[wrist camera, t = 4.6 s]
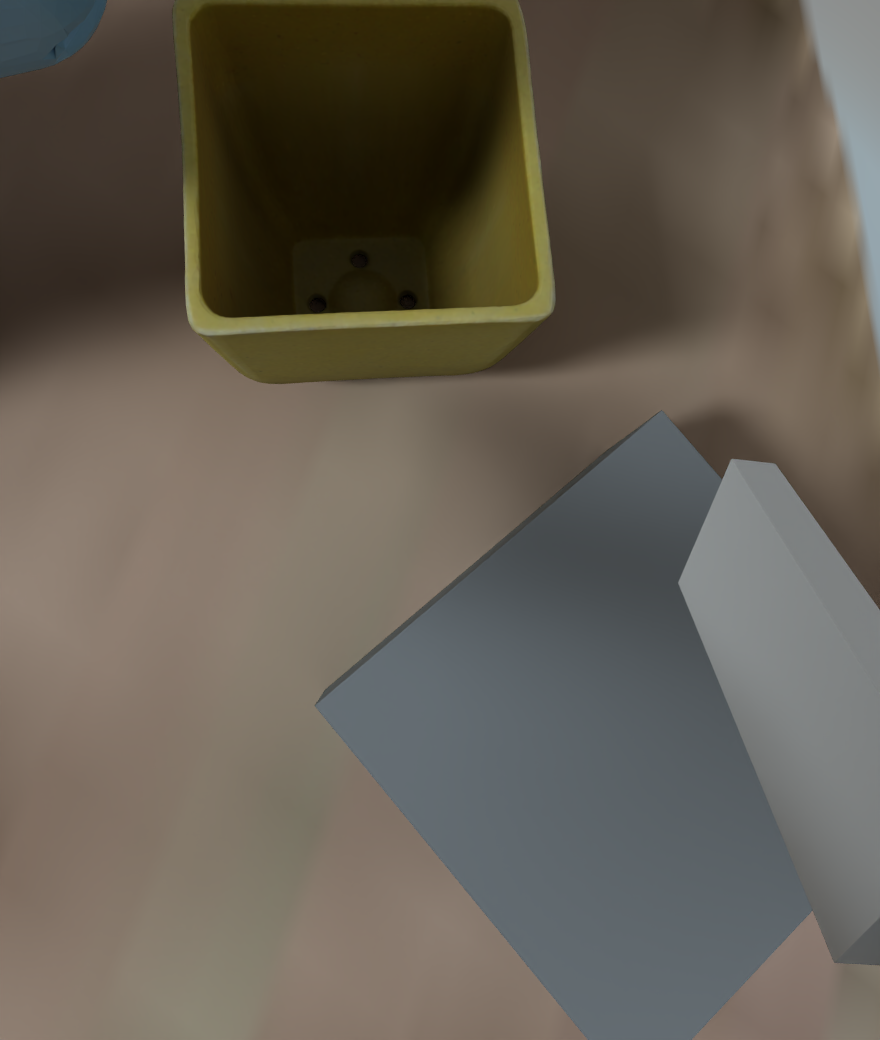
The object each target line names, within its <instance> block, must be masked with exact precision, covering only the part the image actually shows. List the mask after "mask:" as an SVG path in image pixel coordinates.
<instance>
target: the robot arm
mask: <svg viewBox="0 0 880 1040" xmlns="http://www.w3.org/2000/svg"><path fill="white" fill-rule="evenodd" d="M106 3H107V0H0V78H3V77H7V76H12V75H16V74H21V73H25V72H30V71H34V70H39V69H43V68H46V67H49V66H52V65H55V64H57V63H59V62H61V61H63V60H65V59H67V58H69V57H71V56H72V55H73V54H75V53H76V52H77V51H78V50H80V49H81V48H82V47H83V46H84V45H85V44H86V43H87V42H88V41H89V39H90V38H91V36H92V35H93V33H94V32H95V30H96V29H97V27H98V24H99V22H100V20H101V17H102V15H103V13H104V10H105V7H106ZM678 584H679V586H680V589H681V591H682V594H683V596H684V598H685V601H686V603H687V606H688V608H689V611H690V613H691V616H692V618H693V620H694V623H695V625H696V628H697V630H698V633H699V635H700V637H701V640H702V642H703V645H704V647H705V650H706V652H707V654H708V657H709V659H710V662H711V664H712V667H713V669H714V671H715V674H716V676H717V679H718V681H719V684H720V686H721V689H722V691H723V693H724V696H725V698H726V701H727V703H728V706H729V708H730V710H731V713H732V715H733V718H734V720H735V723H736V725H737V727H738V730H739V732H740V735H741V737H742V740H743V742H744V745H745V747H746V749H747V752H748V754H749V757H750V759H751V762H752V764H753V766H754V769H755V771H756V774H757V776H758V779H759V781H760V783H761V786H762V788H763V791H764V793H765V796H766V798H767V800H768V803H769V805H770V808H771V810H772V813H773V815H774V818H775V820H776V822H777V825H778V827H779V830H780V832H781V835H782V837H783V839H784V842H785V844H786V847H787V849H788V852H789V854H790V856H791V859H792V861H793V864H794V866H795V869H796V871H797V873H798V876H799V878H800V881H801V883H802V886H803V888H804V891H805V893H806V895H807V898H808V900H809V903H810V905H811V908H812V910H813V912H814V915H815V917H816V920H817V922H818V925H819V927H820V929H821V932H822V934H823V937H824V939H825V942H826V944H827V947H828V949H829V951H830V954H831V956H832V959H833V961H834V963H847V964H867V965H880V610H879V608H878V607H877V605H876V604H875V603H874V601H873V600H872V598H871V597H870V596H869V594H868V593H867V591H866V590H865V589H864V587H863V586H862V584H861V583H860V582H859V580H858V579H857V577H856V576H855V575H854V573H853V572H852V570H851V569H850V568H849V566H848V565H847V563H846V562H845V561H844V559H843V558H842V556H841V555H840V554H839V552H838V551H837V549H836V548H835V547H834V545H833V544H832V542H831V541H830V540H829V538H828V537H827V535H826V534H825V533H824V531H823V530H822V528H821V527H820V526H819V524H818V523H817V521H816V520H815V519H814V517H813V516H812V514H811V513H810V512H809V510H808V509H807V507H806V506H805V505H804V503H803V502H802V500H801V499H800V498H799V496H798V495H797V493H796V492H795V491H794V489H793V488H792V486H791V485H790V484H789V482H788V481H787V479H786V478H785V477H784V475H783V474H782V472H781V471H780V470H779V468H778V467H777V465H776V464H775V463H766V462H757V461H748V460H739V459H731V461H730V463H729V465H728V468H727V470H726V472H725V475H724V477H723V479H722V482H721V484H720V486H719V489H718V491H717V493H716V496H715V498H714V500H713V503H712V505H711V507H710V510H709V512H708V514H707V517H706V519H705V521H704V524H703V526H702V528H701V531H700V533H699V535H698V538H697V540H696V542H695V545H694V547H693V549H692V552H691V554H690V556H689V559H688V561H687V563H686V566H685V568H684V570H683V573H682V575H681V577H680V580H679V582H678Z"/></svg>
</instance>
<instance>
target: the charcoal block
mask: <svg viewBox="0 0 880 1040" xmlns="http://www.w3.org/2000/svg"><path fill="white" fill-rule="evenodd" d="M721 482H722V479H721V478H720V477H719V475H718V474H717V473H716V472H715V471H714V470H713V469H712V467H711V466H710V465H709V464H708V463H707V462H706V461H705V459H704V458H703V457H702V456H701V455H700V454H699V452H698V451H697V450H696V449H695V448H694V447H693V446H692V444H691V443H690V442H689V441H688V440H687V439H686V437H685V436H684V435H683V434H682V433H681V432H680V431H679V429H678V428H677V427H676V426H675V425H674V424H673V422H672V421H671V420H670V419H669V418H668V417H667V416H666V414H665V413H664V412H663V411H662V410H661V411H660V412H659V413H657V414H656V415H655V416H653V417H652V418H650V419H649V420H648V421H646V422H645V423H644V424H642V425H641V426H640V427H638V428H637V429H636V430H634V431H633V432H631V433H630V434H629V435H627V436H626V437H625V438H623V439H622V440H621V441H619V442H618V443H616V444H615V445H614V446H612V447H611V448H610V449H608V450H607V451H606V452H605V453H603V454H602V455H601V456H600V457H599V458H597V459H596V460H595V461H594V462H593V463H592V464H590V465H589V466H588V467H587V468H586V469H585V470H583V471H582V472H581V473H580V474H579V475H577V476H576V477H575V478H574V479H573V480H572V481H570V482H569V483H568V484H567V485H566V486H565V487H563V488H562V489H561V490H560V491H559V492H557V493H556V494H555V495H554V496H553V497H552V498H550V499H549V500H548V501H547V502H546V503H545V504H543V505H542V506H541V507H540V508H539V509H537V510H536V511H535V512H534V513H533V514H532V515H530V516H529V517H528V518H527V519H526V520H525V521H523V522H522V523H521V524H520V525H519V526H517V527H516V528H515V529H514V530H513V531H512V532H510V533H509V534H508V535H507V536H506V537H505V538H503V539H502V540H501V541H500V542H499V543H497V544H496V545H495V546H494V547H493V548H492V549H490V550H489V551H488V552H487V553H486V554H484V555H483V556H482V557H481V558H480V559H479V560H477V561H476V562H475V563H474V564H473V565H472V566H470V567H469V568H468V569H467V570H466V571H464V572H463V573H462V574H461V575H460V576H459V577H457V578H456V579H455V580H454V581H453V582H452V583H450V584H449V585H448V586H447V587H446V588H444V589H443V590H442V591H441V592H440V593H439V594H437V595H436V596H435V597H434V598H433V599H432V600H430V601H429V602H428V603H427V604H426V605H424V606H423V607H422V608H421V609H420V610H419V611H417V612H416V613H415V614H414V615H413V616H412V617H410V618H409V619H408V620H407V621H406V622H404V623H403V624H402V625H401V626H400V627H399V628H397V629H396V630H395V631H394V632H393V633H392V634H390V635H389V636H388V637H387V638H386V639H384V640H383V641H382V642H381V643H380V644H379V645H377V646H376V647H375V648H374V649H373V650H371V651H370V652H369V653H368V654H367V655H366V656H364V657H363V658H362V659H361V660H360V661H359V662H357V663H356V664H355V665H354V666H353V667H351V668H350V669H349V670H348V671H347V672H346V673H344V674H343V675H342V676H341V677H340V678H339V679H337V680H336V681H335V682H334V683H333V684H331V685H330V686H329V687H328V688H327V689H326V690H325V691H324V692H323V694H322V695H321V697H320V698H319V700H318V702H317V703H316V705H315V707H316V708H317V709H318V710H319V712H320V713H321V714H322V715H323V716H324V718H325V719H326V720H327V721H328V723H329V724H330V725H331V726H332V727H333V729H334V730H335V731H336V732H337V734H338V735H339V736H340V737H341V738H342V740H343V741H344V742H345V743H346V745H347V746H348V747H349V748H350V749H351V751H352V752H353V753H354V754H355V756H356V757H357V758H358V759H359V760H360V762H361V763H362V764H363V765H364V767H365V768H366V769H367V770H368V771H369V773H370V774H371V775H372V776H373V778H374V779H375V780H376V781H377V782H378V784H379V785H380V786H381V787H382V789H383V790H384V791H385V792H386V793H387V795H388V796H389V797H390V798H391V800H392V801H393V802H394V803H395V804H396V806H397V807H398V808H399V809H400V811H401V812H402V813H403V814H404V815H405V817H406V818H407V819H408V820H409V822H410V823H411V824H412V825H413V826H414V828H415V829H416V830H417V831H418V833H419V834H420V835H421V836H422V837H423V839H424V840H425V841H426V842H427V844H428V845H429V846H430V847H431V848H432V850H433V851H434V852H435V853H436V855H437V856H438V857H439V858H440V859H441V861H442V862H443V863H444V864H445V866H446V867H447V868H448V869H449V870H450V872H451V873H452V874H453V875H454V877H455V878H456V879H457V880H458V881H459V883H460V884H461V885H462V886H463V888H464V889H465V890H466V891H467V892H468V894H469V895H470V896H471V897H472V899H473V900H474V901H475V902H476V903H477V905H478V906H479V907H480V908H481V910H482V911H483V912H484V913H485V914H486V916H487V917H488V918H489V919H490V921H491V922H492V923H493V924H494V925H495V927H496V928H497V929H498V930H499V932H500V933H501V934H502V935H503V936H504V938H505V939H506V940H507V941H508V943H509V944H510V945H511V946H512V947H513V949H514V950H515V951H516V952H517V954H518V955H519V956H520V957H521V958H522V960H523V961H524V962H525V963H526V965H527V966H528V967H529V968H530V969H531V971H532V972H533V973H534V974H535V976H536V977H537V978H538V979H539V980H540V982H541V983H542V984H543V985H544V987H545V988H546V989H547V990H548V992H549V993H550V994H551V995H552V996H553V998H554V999H555V1000H556V1001H557V1003H558V1004H559V1005H560V1006H561V1007H562V1009H563V1010H564V1011H565V1012H566V1014H567V1015H568V1016H569V1017H570V1018H571V1020H572V1021H573V1022H574V1023H575V1025H576V1026H577V1027H578V1028H579V1029H580V1031H581V1032H582V1033H583V1034H584V1036H585V1037H586V1038H587V1039H588V1040H692V1038H693V1037H694V1036H695V1035H696V1034H697V1033H698V1032H699V1031H700V1030H701V1029H702V1028H703V1027H704V1026H705V1025H706V1024H707V1022H708V1021H709V1020H710V1019H711V1018H712V1017H713V1016H714V1015H715V1014H716V1013H717V1012H718V1011H719V1010H720V1009H721V1008H722V1006H723V1005H724V1004H725V1003H726V1002H727V1001H728V1000H729V999H730V998H731V997H732V996H733V995H734V994H735V993H736V992H737V990H738V989H739V988H740V987H741V986H742V985H743V984H744V983H745V982H746V981H747V980H748V979H749V978H750V977H751V976H752V974H753V973H754V972H755V971H756V970H757V969H758V968H759V967H760V966H761V965H762V964H763V963H764V962H765V961H766V960H767V958H768V957H769V956H770V955H771V954H772V953H773V952H774V951H775V950H776V949H777V948H778V947H779V946H780V945H781V943H782V942H783V941H784V940H785V939H786V938H787V937H788V936H789V935H790V934H791V933H792V932H793V931H794V930H795V929H796V927H797V926H798V925H799V924H800V923H801V922H802V921H803V920H804V919H805V918H806V917H807V916H808V915H809V914H810V913H811V911H812V908H811V905H810V903H809V900H808V898H807V895H806V893H805V891H804V888H803V886H802V883H801V881H800V878H799V876H798V873H797V871H796V869H795V866H794V864H793V861H792V859H791V856H790V854H789V852H788V849H787V847H786V844H785V842H784V839H783V837H782V835H781V832H780V830H779V827H778V825H777V822H776V820H775V818H774V815H773V813H772V810H771V808H770V805H769V803H768V800H767V798H766V796H765V793H764V791H763V788H762V786H761V783H760V781H759V779H758V776H757V774H756V771H755V769H754V766H753V764H752V762H751V759H750V757H749V754H748V752H747V749H746V747H745V745H744V742H743V740H742V737H741V735H740V732H739V730H738V727H737V725H736V723H735V720H734V718H733V715H732V713H731V710H730V708H729V706H728V703H727V701H726V698H725V696H724V693H723V691H722V689H721V686H720V684H719V681H718V679H717V676H716V674H715V671H714V669H713V667H712V664H711V662H710V659H709V657H708V654H707V652H706V650H705V647H704V645H703V642H702V640H701V637H700V635H699V633H698V630H697V628H696V625H695V623H694V620H693V618H692V616H691V613H690V611H689V608H688V606H687V603H686V601H685V598H684V596H683V594H682V591H681V589H680V586H679V584H678V582H679V580H680V577H681V575H682V573H683V570H684V568H685V566H686V563H687V561H688V559H689V556H690V554H691V552H692V549H693V547H694V545H695V542H696V540H697V538H698V535H699V533H700V531H701V528H702V526H703V524H704V521H705V519H706V517H707V514H708V512H709V510H710V507H711V505H712V503H713V500H714V498H715V496H716V493H717V491H718V489H719V486H720V484H721Z"/></svg>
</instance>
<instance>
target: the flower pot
mask: <svg viewBox="0 0 880 1040" xmlns="http://www.w3.org/2000/svg"><path fill="white" fill-rule="evenodd" d="M172 19H173V37H174V50H175V60H176V71H177V83H178V100H179V113H180V126H181V141H182V167H183V202H184V241H185V295H186V308H187V315H188V322H189V324H190V325H191V327H192V329H193V330H194V331H195V332H196V333H197V334H198V335H199V336H201V337H202V338H203V339H204V340H205V342H207V343H208V344H209V345H210V346H211V347H212V348H213V349H214V350H215V351H216V352H217V353H218V354H219V355H221V356H222V357H223V358H224V359H225V360H226V361H227V362H228V363H229V364H231V365H232V366H233V367H234V368H235V369H236V370H237V371H239V372H240V373H241V374H243V375H244V376H246V377H248V378H250V379H252V380H255V381H258V382H262V383H268V384H287V383H302V382H319V381H336V380H354V379H372V378H392V377H415V376H441V375H462V374H469V373H474V372H478V371H482V370H484V369H487V368H489V367H491V366H493V365H494V364H496V363H497V362H499V361H500V360H501V359H503V358H504V357H505V356H506V355H507V354H508V353H510V352H511V351H512V350H513V349H514V348H515V347H516V346H517V345H519V344H520V343H521V342H522V341H523V340H524V339H525V338H526V337H527V336H528V335H529V334H531V333H532V332H533V331H534V330H535V329H536V328H537V327H538V326H539V325H540V324H541V323H542V322H543V321H544V320H546V319H547V318H548V317H549V316H550V315H551V314H552V312H553V311H554V307H555V302H556V298H555V280H554V272H553V266H552V255H551V248H550V237H549V229H548V220H547V213H546V205H545V196H544V188H543V180H542V169H541V160H540V151H539V144H538V137H537V127H536V119H535V108H534V98H533V90H532V82H531V69H530V58H529V48H528V40H527V32H526V26H525V21H524V17H523V13H522V10H521V7H520V4H519V2H518V0H175V2H174V5H173V11H172ZM357 254H362V255H364V256H365V257H366V258H367V261H368V262H367V264H366V265H365V266H364V267H362V268H358V267H355V266H354V265H353V264H352V258H353V256H355V255H357ZM407 294H408V295H411V296H412V297H413V298H414V299H415V305H414V307H412V308H410V309H406V308H404V307H402V306H401V304H400V299H401V297H402V296H404V295H407ZM314 298H321V299H323V300H324V301H325V304H326V307H325V309H324V310H323V311H321V312H314V311H312V310H311V308H310V302H311V301H312V300H313V299H314Z"/></svg>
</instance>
